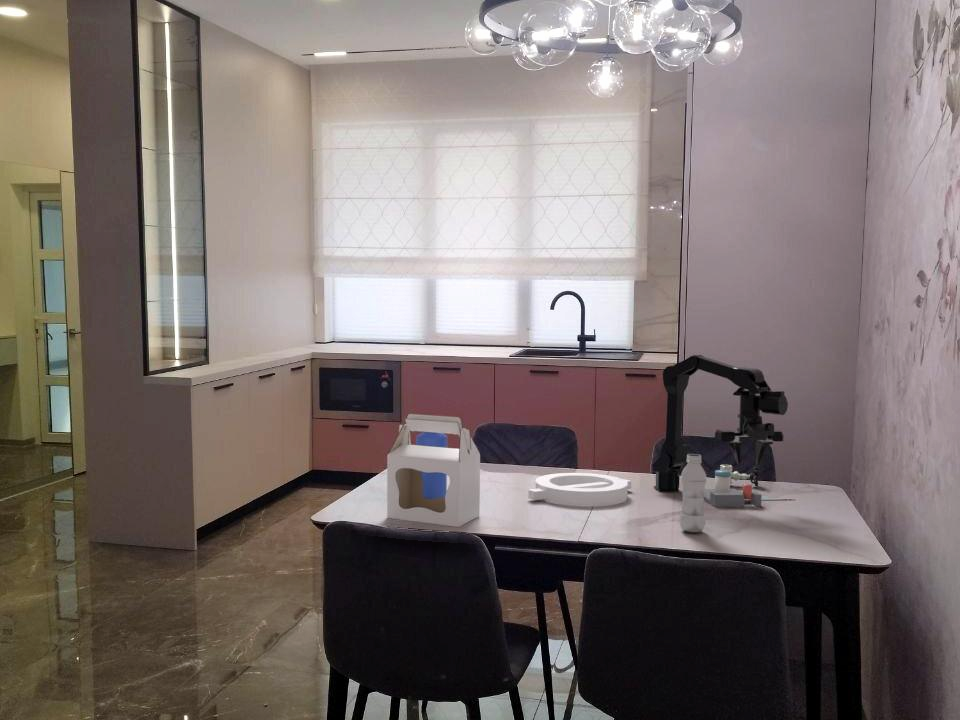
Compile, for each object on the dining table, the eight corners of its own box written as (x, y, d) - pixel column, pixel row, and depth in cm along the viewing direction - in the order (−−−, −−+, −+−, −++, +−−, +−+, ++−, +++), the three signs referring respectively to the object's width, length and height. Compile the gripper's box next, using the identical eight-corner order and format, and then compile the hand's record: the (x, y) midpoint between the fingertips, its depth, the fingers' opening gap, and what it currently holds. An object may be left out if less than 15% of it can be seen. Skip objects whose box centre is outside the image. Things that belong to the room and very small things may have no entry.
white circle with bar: (525, 503, 250) (525, 487, 250) (546, 484, 277) (546, 470, 276) (620, 510, 242) (621, 494, 241) (632, 491, 268) (633, 476, 268)
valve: (719, 487, 274) (758, 489, 272) (720, 467, 274) (758, 469, 271) (718, 483, 281) (756, 485, 278) (719, 463, 280) (757, 465, 278)
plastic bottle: (700, 528, 222) (702, 453, 220) (708, 535, 215) (710, 457, 214) (676, 528, 221) (678, 452, 220) (683, 535, 215) (685, 457, 213)
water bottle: (409, 500, 250) (410, 416, 249) (426, 494, 258) (426, 413, 257) (436, 504, 246) (437, 419, 244) (452, 498, 254) (453, 415, 252)
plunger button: (744, 499, 247) (745, 485, 247) (741, 497, 250) (741, 484, 250) (753, 499, 248) (753, 485, 247) (749, 497, 250) (750, 483, 250)
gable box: (385, 518, 230) (386, 415, 228) (409, 507, 242) (410, 410, 240) (459, 527, 220) (460, 421, 219) (480, 516, 232) (481, 415, 231)
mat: (756, 500, 255) (757, 499, 255) (744, 493, 265) (744, 492, 265) (795, 500, 256) (795, 499, 256) (781, 493, 266) (781, 492, 266)
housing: (714, 506, 246) (715, 495, 246) (692, 492, 265) (692, 481, 265) (761, 506, 247) (761, 494, 247) (735, 492, 267) (735, 481, 266)
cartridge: (717, 499, 257) (718, 472, 256) (712, 495, 261) (712, 470, 261) (732, 498, 257) (733, 472, 256) (726, 495, 261) (727, 469, 261)
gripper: (729, 415, 238) (727, 470, 239) (793, 415, 240) (791, 469, 241) (714, 410, 249) (713, 462, 250) (775, 410, 251) (774, 462, 252)
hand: (748, 464), depth 248 cm, fingers open, 5 cm apart
